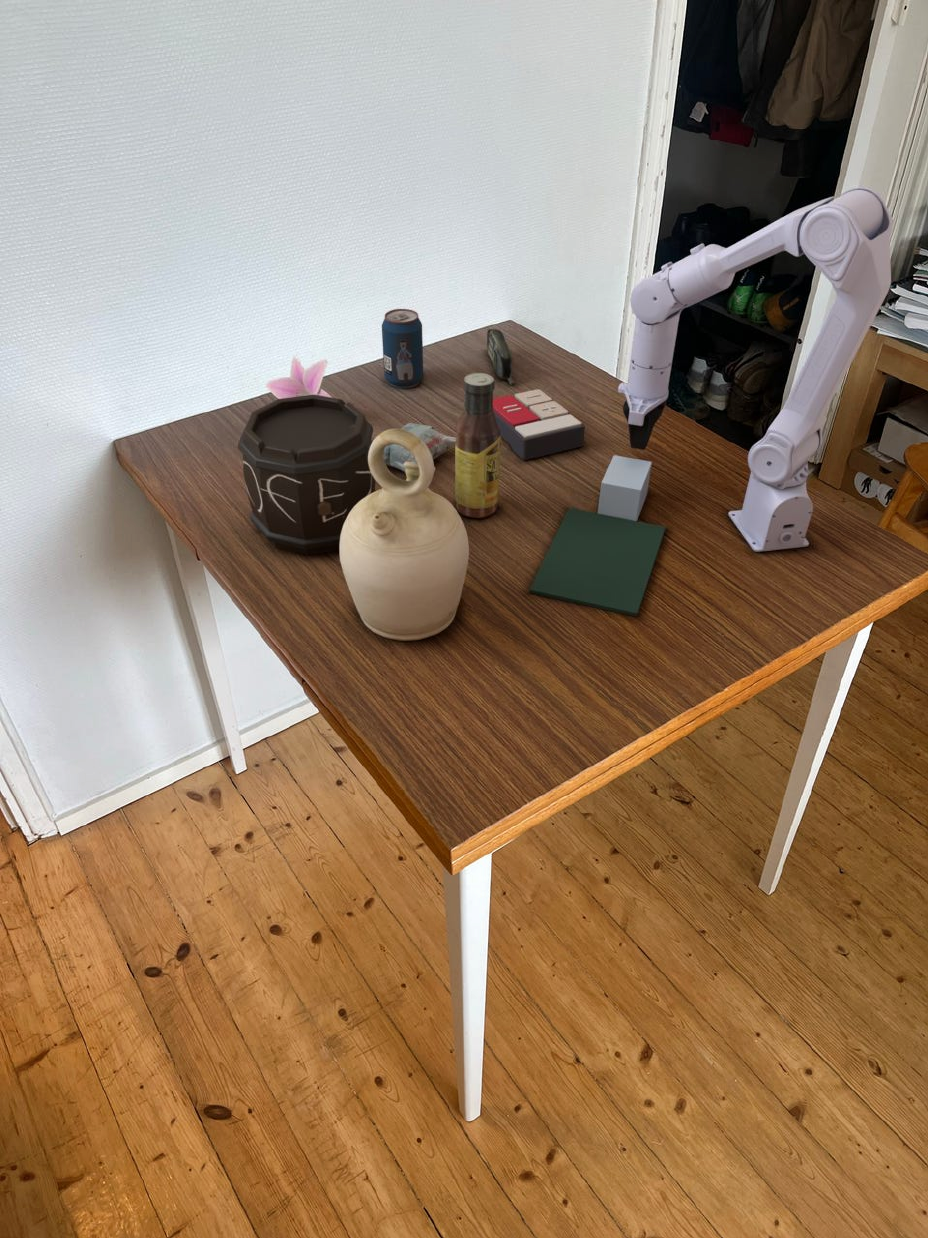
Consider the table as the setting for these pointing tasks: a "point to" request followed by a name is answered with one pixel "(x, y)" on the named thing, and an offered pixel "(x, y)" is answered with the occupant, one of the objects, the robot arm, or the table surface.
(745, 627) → the table surface
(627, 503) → the grey block
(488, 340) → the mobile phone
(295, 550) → the octagonal coffee canister
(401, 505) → the jug
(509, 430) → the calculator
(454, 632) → the table surface
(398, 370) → the soda can
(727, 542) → the table surface
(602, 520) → the rubber mat
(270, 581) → the table surface
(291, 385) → the lily
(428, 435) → the packaged food
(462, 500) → the sauce bottle
